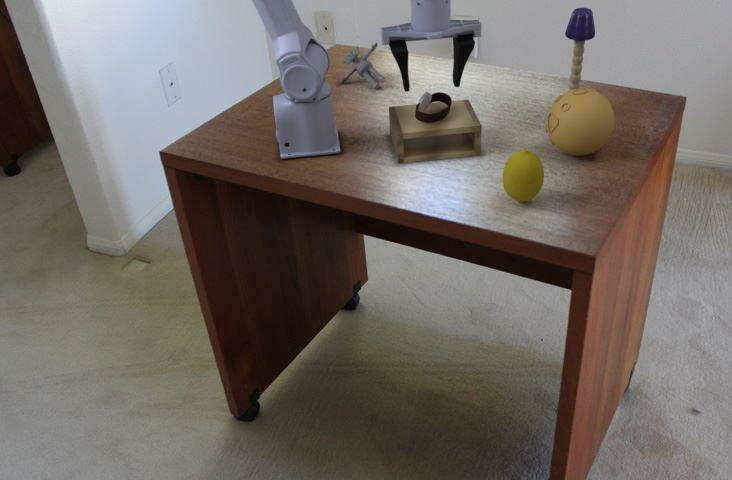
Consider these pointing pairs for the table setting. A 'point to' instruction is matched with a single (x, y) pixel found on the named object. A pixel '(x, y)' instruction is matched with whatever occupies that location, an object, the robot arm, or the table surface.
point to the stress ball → (580, 121)
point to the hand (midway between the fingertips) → (431, 86)
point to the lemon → (523, 175)
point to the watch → (424, 104)
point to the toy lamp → (579, 40)
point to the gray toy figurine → (362, 66)
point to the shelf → (435, 133)
